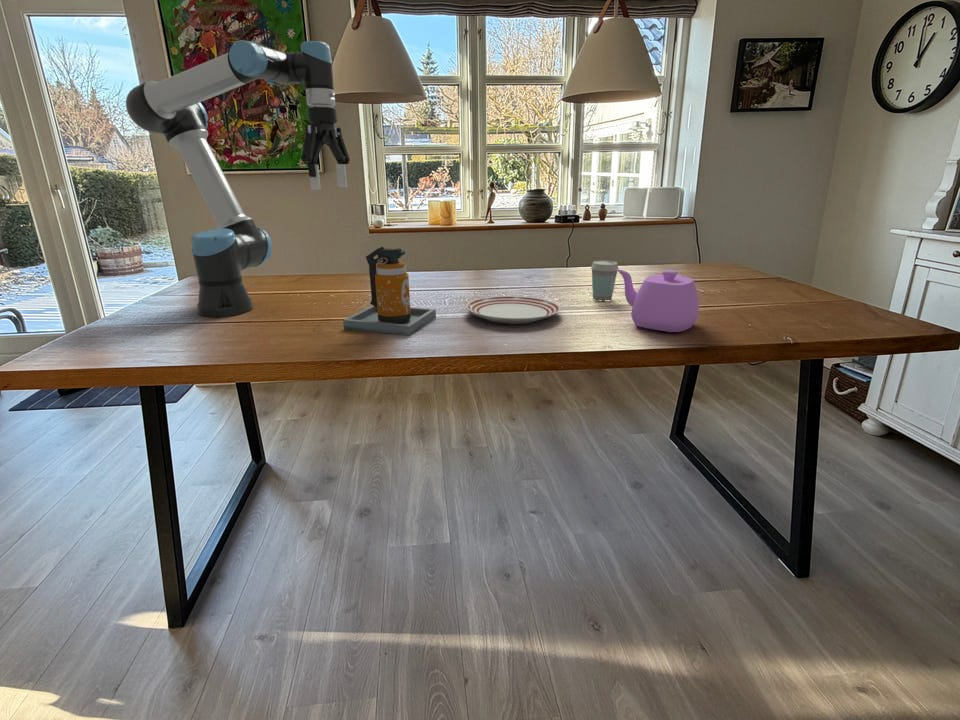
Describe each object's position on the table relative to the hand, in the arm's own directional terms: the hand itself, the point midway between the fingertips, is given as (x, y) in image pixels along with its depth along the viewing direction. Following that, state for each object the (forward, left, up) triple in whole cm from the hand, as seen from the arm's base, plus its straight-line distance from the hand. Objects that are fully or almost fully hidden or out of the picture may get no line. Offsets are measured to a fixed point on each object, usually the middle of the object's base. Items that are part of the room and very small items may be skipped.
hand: (329, 188), depth 151 cm
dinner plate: (+54, +5, -35) cm, 65 cm away
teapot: (+95, +7, -35) cm, 101 cm away
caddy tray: (+24, -13, -35) cm, 44 cm away
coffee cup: (+77, +31, -35) cm, 90 cm away
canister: (+24, -13, -34) cm, 44 cm away
